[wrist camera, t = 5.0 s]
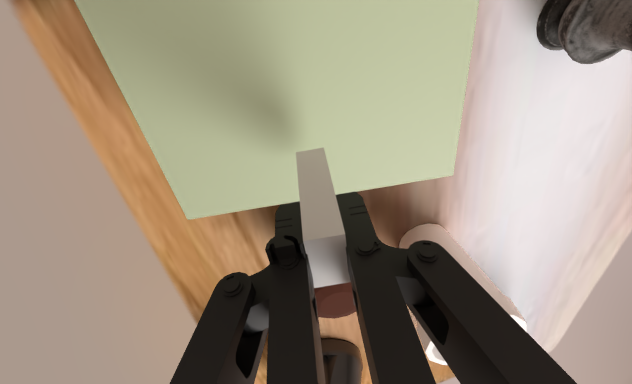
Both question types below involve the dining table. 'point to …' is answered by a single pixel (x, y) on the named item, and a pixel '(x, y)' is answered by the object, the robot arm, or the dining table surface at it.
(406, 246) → the foam cup
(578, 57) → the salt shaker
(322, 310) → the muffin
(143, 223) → the dining table surface
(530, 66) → the dining table surface
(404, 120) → the lid
